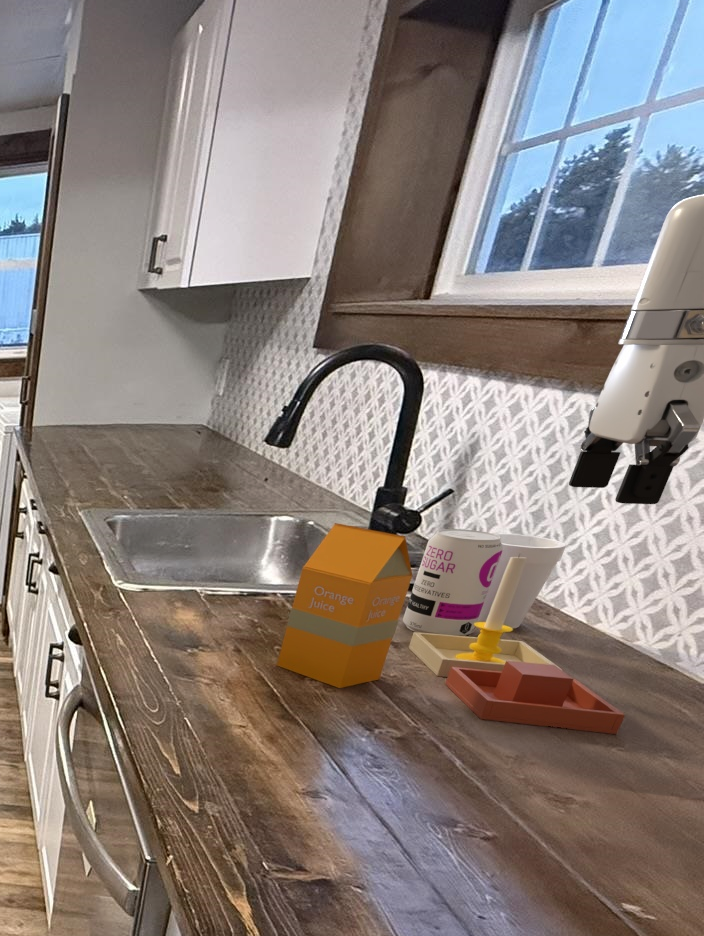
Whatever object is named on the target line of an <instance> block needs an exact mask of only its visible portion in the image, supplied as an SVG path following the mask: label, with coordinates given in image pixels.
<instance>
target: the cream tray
mask: <svg viewBox="0 0 704 936" xmlns="http://www.w3.org/2000/svg"><path fill="white" fill-rule="evenodd" d="M477 639H478V636H467V635H466V636H456V635H444V634H432V633H420V632H415V631H413V633H412V636H411V639H410V642H409V645H408V649H409V650H410V651H411V652H412V653H413V654H414V655H415V656H416V657H417V658H418V659H419V660H420V661H421V662H422V663H423V664H424V665H425V666H426V667H428V669H429V670H430V671H431V672H432V673H434V675H435V676H437V677H444V678H447V677H448V675H449V672H450V669H451V667H459V668H469V669H480V670H490V671H501V672H502V670H503V668H504V665H505V663H495V662H484V661H473V660H462V659H455V656H456V655H457V654H460V653H473V652H474V651H475V650H472V649H471V648H470V647H469V646H470V644H471V643H477ZM500 639H501V640H500V642H499V643H498V645H497V646H498V647H500V648H501V649H502V651H501V652H500V653H498V654H493V657H495V658H498V659H501V660H503V661H504V662H506V661H515V662H526V663H537V664H548V665H555V666H556V667H558V668H559V669H561V670H562V671H563V672H564V670H563V668H560V666H558V665H557V664H556V663H554V662H553V661H551V660H550V659H549V658H547V657H546V656H544V655H543V654H542V653H540V652H539V651H537V650H536V649H535V648H533V647H532V646H530V645H529V644H527V643H526V642H525V641H524V640H514V639H502V638H500Z"/></svg>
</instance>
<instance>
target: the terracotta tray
mask: <svg viewBox="0 0 704 936" xmlns="http://www.w3.org/2000/svg"><path fill="white" fill-rule="evenodd" d="M501 673H502V672H501V671H490V670H480V669H469V668H459V667H451V669H450V672H449V675H448V677H446V680H445V683H444V685H445V686H446V687H447V688H449V689H450V690H451V691H452V692H453V694H455V695H456V696H457V698H459V699H460V701H462V702H463V703H464V704H465V705H466V707H468V708H469V709H470V710H471V711H472V712H473V713H474V714H475V715H476V716H477V717H478V718H479V719H480V720H487V721H494V722H503V723H505V722H506V723H512V724H521V725H531V726H538V727H539V726H540V727H548V726H551V727H550V728H557V727H561V728H560V729H566V728H567V729H568V730H575V731H576V730H577V731H582V732H583V731H584V732H593V733H602V734H611V735H617V734H618V732H619V730H620V727H621V726H622V723H623V722H624V721H623V720H624V719H625V716H626V714H624V713H623V712H622V711H620V710H619V709H618V708H616V707H615V706H613V705H612V704H610V703H609V701H607V700H605V699H604V698H602V697H601V696H600V695H598V694H597V693H595V692H594V691H593V690H591V689H590V688H589V687H588V686H586V685H584V684H583V683H582V682H580V681H579V680H577V679H576V678H574V677H572V678H573V679H574V680H573V682H572V684H571V687H570V689H569V691H568V694H567V696H566V699H565V701H564V703H563V706H562V707H561V706H551V705H542V704H532V703H523V702H513V701H504V700H500V699H499V698H497V697H496V696H495V695H494V691H495V689H496V686H497V684H498V681H499V678H500V676H501ZM552 726H553V727H552Z"/></svg>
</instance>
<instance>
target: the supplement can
mask: <svg viewBox="0 0 704 936" xmlns="http://www.w3.org/2000/svg"><path fill="white" fill-rule="evenodd" d="M500 539H501V537H500V536H498V535H496V534H493V532H487V531H481V530H473V529H463V528H443V529H439V530H437V531H436V533H435V534H434V535H433V536H432V537H430V538H429V539H428V540H427V543H426V547H425V550H424V553H423V556H422V559H421V562H420V565H419V569H418V571H417V575H416V578H415V580H414V584H413V587H412V590H411V593H410V597H409V599H408V603H407V605H406V609H405V612H404V614H403V617H402V622H403V624H404V625H405V626H406V628H407V629H409V630H410V631H413V632H420V633H432V634H444V635H456V636H467V635H471V634H472V633H473V632H474V631H475V628H476V626H475V625H474V623H476V622H477V620H478V617H479V615H480V612H481V609H482V606H483V604H484V601H485V598H486V595H487V593H488V590H489V587H490V584H491V581H492V579H493V576H494V573H495V570H496V568H497V565H498V562H499V559H500V557H501V554H502V551H503V546H502V544H501V541H500Z"/></svg>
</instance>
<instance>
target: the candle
mask: <svg viewBox="0 0 704 936" xmlns="http://www.w3.org/2000/svg"><path fill="white" fill-rule="evenodd" d="M520 554H521V553H520ZM520 554H519V556H518V557H511V558H510V560H509V563H508V565H507V567H506V570H505V572H504V575H503V578H502V580H501V583H500V586H499V588H498V591H497V594H496V596H495V599H494V602H493V604H492V607H491V610H490V612H489V615H488V618H487V620H486V622H476V623H474V625H475V628H478V629H480V630H479V631H480V633H479V634H478V636H477V637H478V639H477V643H471V644H470V646H469V647H470V648H471V649H472V650H475V651H474V652H473V653H460V654H457V655H456V656H455V659H462V660H473V661H484V662H495V663H506V662H504V661H503V660H501V659H498V658H495V657H493V654H498V653H500V652H501V651H502V649H501V648H500V647H498V646H497V645H498V643H499V642H500V640H501V639H502V638H501V637H502V636H503V634H504V633H511V632H513V631H514V628H511V627H509V626H506V625H503V624H504V621H505V618H506V615H507V613H508V610H509V607H510V604H511V601H512V599H513V596H514V593H515V590H516V588H517V585H518V582H519V579H520V577H521V574H522V571H523V568H524V565H525V561H526V559H527V558H521V557H520Z"/></svg>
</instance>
